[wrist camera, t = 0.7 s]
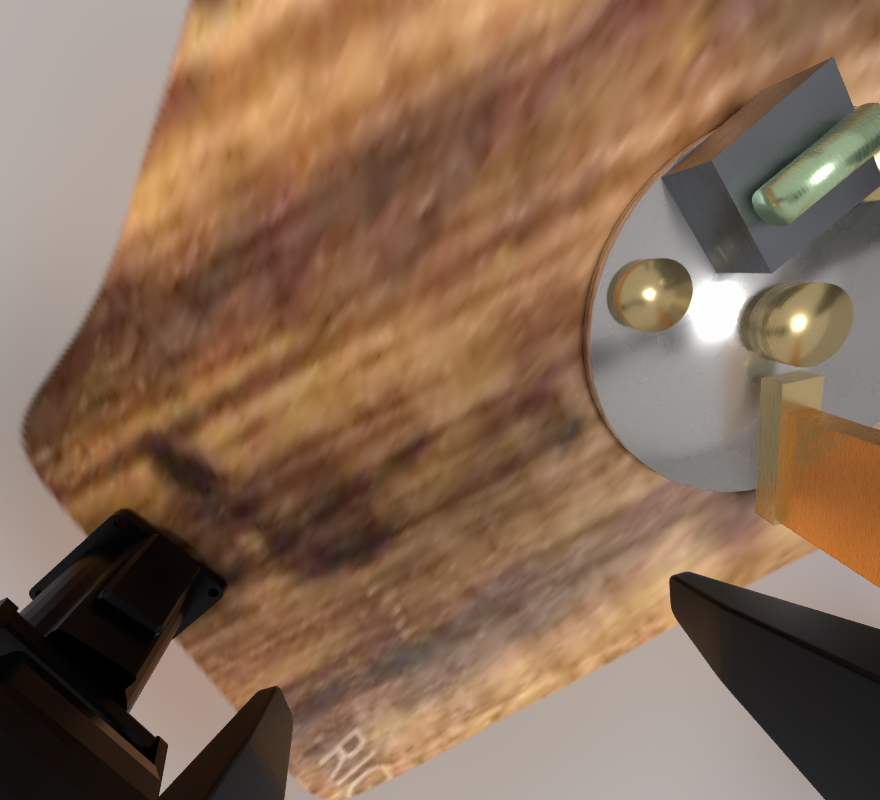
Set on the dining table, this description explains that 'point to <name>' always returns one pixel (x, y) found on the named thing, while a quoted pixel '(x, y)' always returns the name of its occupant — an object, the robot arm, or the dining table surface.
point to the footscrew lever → (813, 431)
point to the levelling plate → (737, 279)
